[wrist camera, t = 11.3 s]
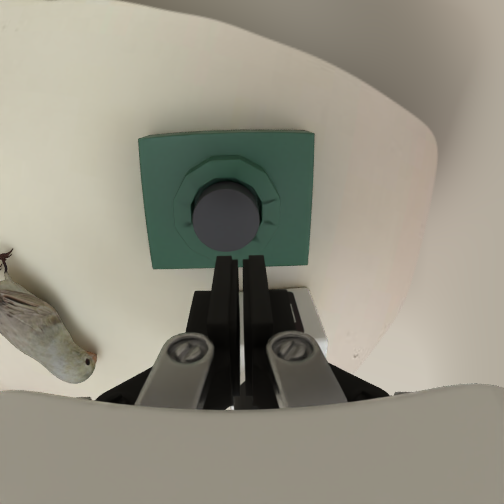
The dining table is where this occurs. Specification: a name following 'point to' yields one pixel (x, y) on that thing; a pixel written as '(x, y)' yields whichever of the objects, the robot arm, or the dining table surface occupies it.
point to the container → (304, 322)
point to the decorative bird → (41, 332)
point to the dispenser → (234, 170)
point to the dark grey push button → (226, 217)
